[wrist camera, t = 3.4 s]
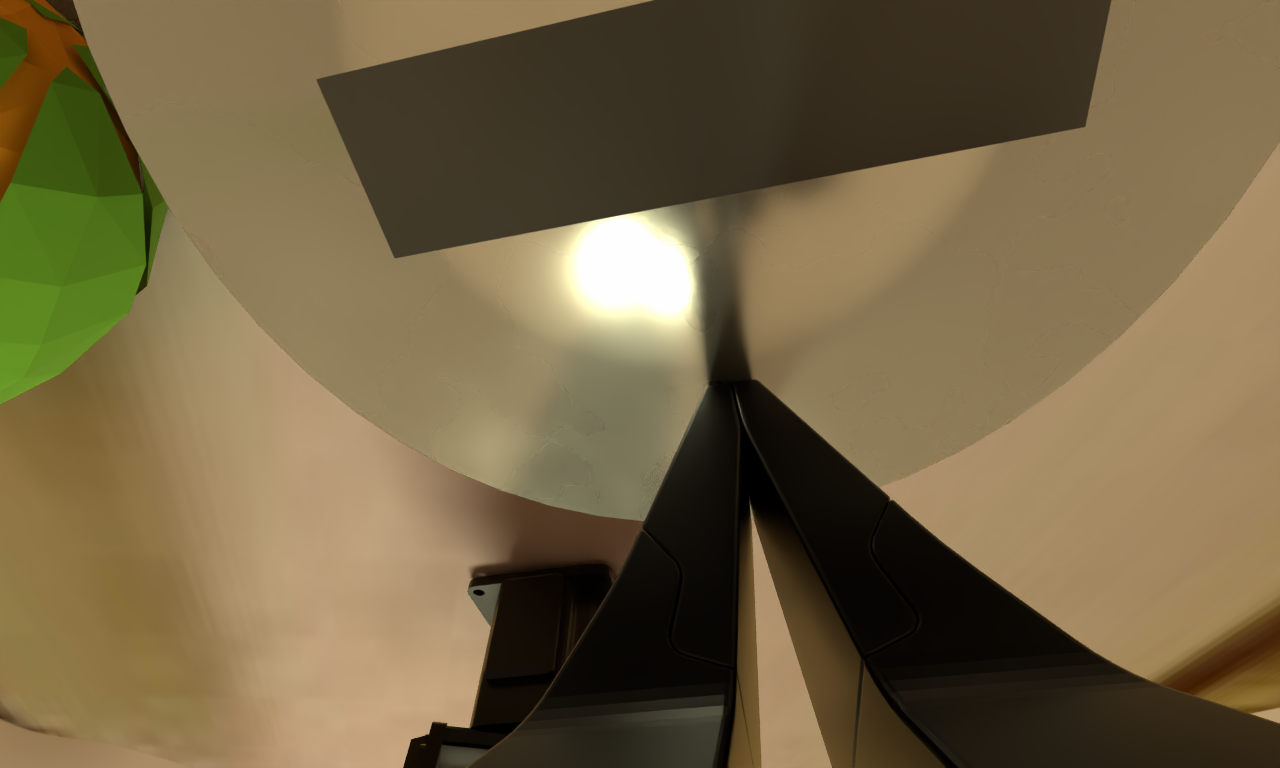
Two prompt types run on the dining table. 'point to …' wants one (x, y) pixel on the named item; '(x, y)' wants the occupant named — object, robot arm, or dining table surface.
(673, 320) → the lid
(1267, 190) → the dining table surface
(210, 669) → the dining table surface
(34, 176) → the corn
